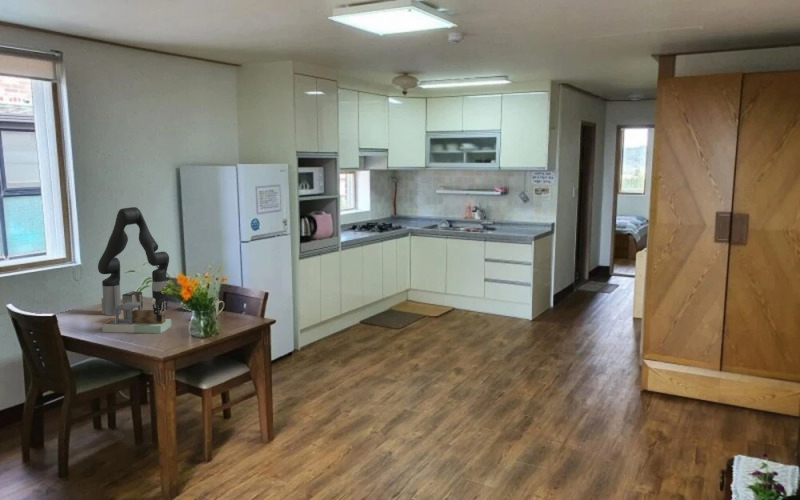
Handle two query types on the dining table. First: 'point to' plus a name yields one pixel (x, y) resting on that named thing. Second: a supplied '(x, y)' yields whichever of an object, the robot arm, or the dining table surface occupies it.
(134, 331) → the tunnel deck
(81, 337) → the dining table surface
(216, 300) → the mug
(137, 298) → the coffee box
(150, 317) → the walnut bar
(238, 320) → the dining table surface
